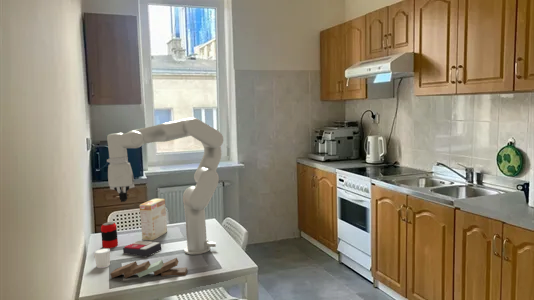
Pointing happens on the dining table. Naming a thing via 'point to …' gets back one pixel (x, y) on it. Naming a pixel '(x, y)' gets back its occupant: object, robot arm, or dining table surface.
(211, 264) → the dining table surface
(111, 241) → the soda can
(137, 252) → the black and red box
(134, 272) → the domino
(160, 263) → the domino
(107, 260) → the white short cylinder
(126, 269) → the domino
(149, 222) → the coffeecake box
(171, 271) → the domino
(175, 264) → the domino
